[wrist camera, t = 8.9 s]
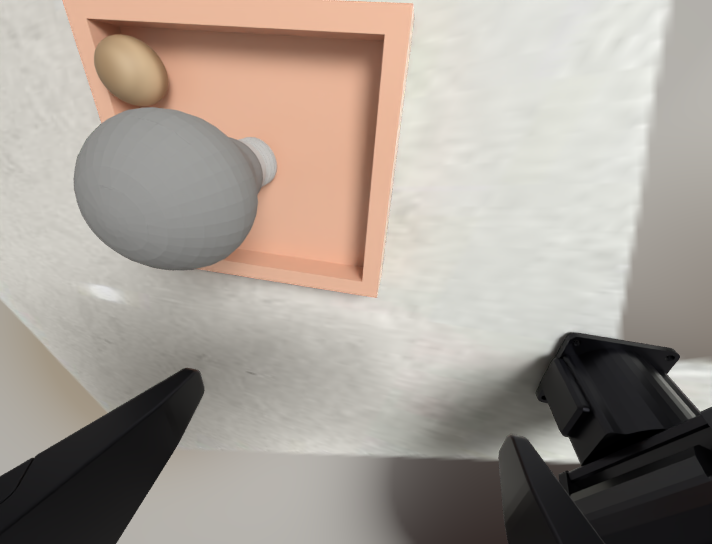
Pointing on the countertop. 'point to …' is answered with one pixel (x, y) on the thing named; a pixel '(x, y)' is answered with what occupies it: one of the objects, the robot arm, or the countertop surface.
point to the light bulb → (170, 187)
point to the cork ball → (131, 70)
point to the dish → (284, 116)
